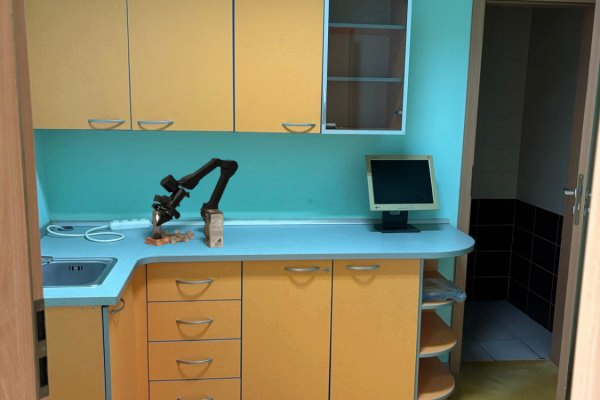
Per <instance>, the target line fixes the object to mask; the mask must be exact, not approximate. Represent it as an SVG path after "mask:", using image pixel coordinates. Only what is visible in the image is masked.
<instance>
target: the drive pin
mask: <svg viewBox="0 0 600 400" xmlns="http://www.w3.org/2000/svg"><path fill="white" fill-rule="evenodd" d="M151 212H152V213H151V215H152V216H151V217H152V220H151V221H153V225H152V237H153V239H154V240H158V239H162V236H163V230H162V229H163V228H162V227H163V226H162V225H163V224H162V225H160V226H158V227H157V226H156V224H157V222H158V220H159V219H160V217H161V211H160V210H152V211H151Z"/></svg>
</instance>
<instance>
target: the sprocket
mask: <svg viewBox="0 0 600 400" xmlns="http://www.w3.org/2000/svg"><path fill="white" fill-rule="evenodd" d="M169 232H170V231H169V230H162V239H158V240H154V239H153V236H148V237H144V243H145V244H146V245H151V246H154V247H157V246H162V244H163V245H166V244H167V243H168V244H171V243H172V244H177V243H188V242H190V240H194V239H195V232H192V230H190V229H186V230H184V233H183V232H182V233H180V229H175V230H174V233H169Z"/></svg>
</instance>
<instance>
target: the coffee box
mask: <svg viewBox="0 0 600 400" xmlns="http://www.w3.org/2000/svg"><path fill="white" fill-rule="evenodd" d="M204 225H205V233H204V234H205V235H204V236H205V237H204V239H205V240H204V241H205V242H204V243H205V245H206V246H208V247H209V248H210V249H215V248H216V247H217V248H224V212H223V211H222V210H219V208H218V209H208V210H205V221H204Z"/></svg>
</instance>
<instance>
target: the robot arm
mask: <svg viewBox="0 0 600 400" xmlns="http://www.w3.org/2000/svg"><path fill="white" fill-rule="evenodd" d="M218 167H219V168H220V172H219V173H220V175H219V178H218V180H217V181H216V185H215V187H214V189H213V191H212V193H211V195H210V198H209V200H208V201H207V202H203V203H202V206H201V208H200V209H199V210H200V213H199V214H200V217H201V218H202V220H203V222H205V210H208V209H218V210H219V204H220V202H221V199H222V197H223V195H224V192H225V190H226V188H227V185H228V183H229V181H230V179H231V178H232V177H233V176H235V174H236V172H237V171H238V168H239V164H238V162H237V160H235V159H234V160H233V159H221V158H218V157H212V158H210V160H209V161H207V162H206V163H205V164H203V165H202V166H201V167H200V168H199V169H196V171H194V172H191V173H190V174H187V175H184V176H182V177H181V178H180V179H176V178H175V177H174V176H173V174H168V175H167V176H165V177H163V178H162V179H160V182H159V185H160V186H161V187H162V188H163V189H164V190H165V191H166V192H167V193H168V194H169V193H171V194H170V195H169V196H168V195H165V194H163V195H159V194H155V195H154V198H153V200H152V201H153V203H152V205H151V206H150V207H151V208H152V209H153V211H155V210H160V211H161V217H160V219H159V220H158V222H157V224H156V226H157V227H158V226H160V225H163V224H166V223H168V222H170V221H172V220H174V219H175V220H179V219H180V218H181V213H180V212H179V210H177V207H180V206H181V204H180V203H181V202H182V201H183V200H184V198H188V199H189V198H191V195H190V193H191V192H190V191H193V190H194V189H195V188H196V187H197V186H198V185H199V183H200V181H201V180H202V179H203V178H205V177H206V176H208V175H209V174H210V173H211V172H213V171H214V170H215V169H217V168H218ZM187 190H189V191H187ZM151 225H152V226H153V220H151ZM203 226H204V227H203V228H204V234H203V235H204V236H205V224H204V225H203Z"/></svg>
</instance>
